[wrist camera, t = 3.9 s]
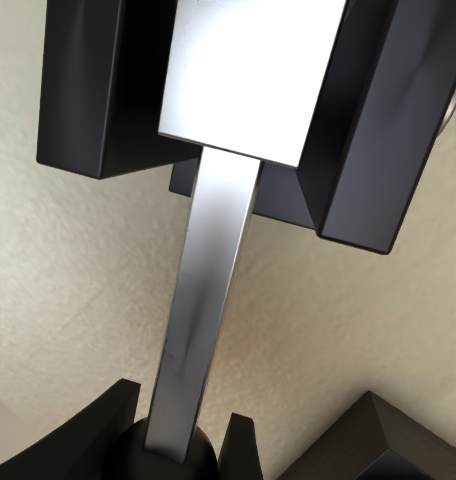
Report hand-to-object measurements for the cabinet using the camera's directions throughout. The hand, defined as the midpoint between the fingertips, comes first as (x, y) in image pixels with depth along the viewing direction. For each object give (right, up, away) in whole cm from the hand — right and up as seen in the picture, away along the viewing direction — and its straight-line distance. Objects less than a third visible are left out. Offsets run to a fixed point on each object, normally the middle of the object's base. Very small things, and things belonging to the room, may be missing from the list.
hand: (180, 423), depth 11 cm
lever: (+1, +4, -2) cm, 5 cm away
